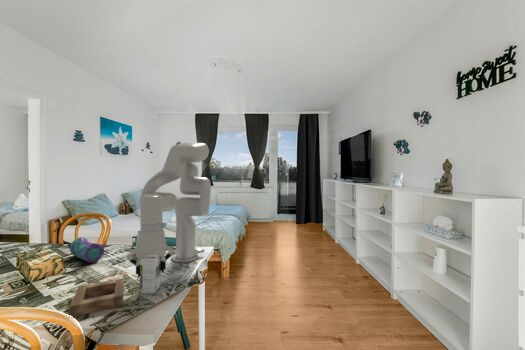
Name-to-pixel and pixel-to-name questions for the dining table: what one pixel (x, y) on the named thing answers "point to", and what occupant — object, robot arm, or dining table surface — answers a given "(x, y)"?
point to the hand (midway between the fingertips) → (151, 273)
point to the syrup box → (150, 274)
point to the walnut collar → (99, 303)
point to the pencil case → (86, 250)
